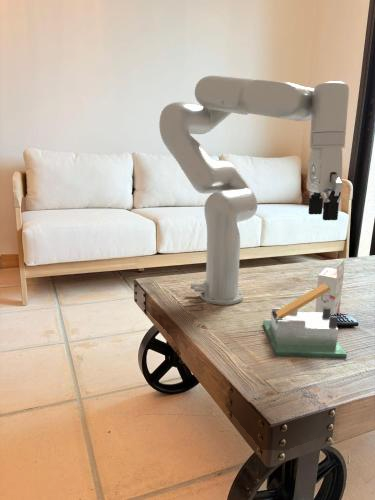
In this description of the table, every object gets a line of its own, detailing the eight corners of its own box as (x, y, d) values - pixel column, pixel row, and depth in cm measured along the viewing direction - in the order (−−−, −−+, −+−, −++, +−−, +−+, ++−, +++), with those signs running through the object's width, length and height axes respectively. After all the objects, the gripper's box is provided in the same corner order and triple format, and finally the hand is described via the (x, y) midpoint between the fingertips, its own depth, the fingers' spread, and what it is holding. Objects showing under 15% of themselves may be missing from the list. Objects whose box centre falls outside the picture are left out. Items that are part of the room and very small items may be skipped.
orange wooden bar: (279, 319, 89) (277, 317, 88) (277, 314, 91) (275, 311, 91) (330, 290, 87) (328, 287, 86) (325, 285, 89) (324, 282, 89)
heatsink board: (275, 356, 84) (277, 325, 82) (263, 324, 99) (264, 298, 97) (346, 358, 83) (350, 327, 82) (323, 325, 99) (325, 299, 97)
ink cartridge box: (321, 306, 111) (326, 256, 108) (339, 310, 109) (345, 259, 105) (313, 316, 104) (318, 263, 101) (333, 321, 102) (339, 266, 98)
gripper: (299, 143, 97) (295, 212, 101) (324, 139, 80) (319, 222, 84) (329, 143, 97) (324, 212, 101) (361, 139, 80) (353, 222, 84)
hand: (322, 216), depth 93 cm, fingers open, 9 cm apart
